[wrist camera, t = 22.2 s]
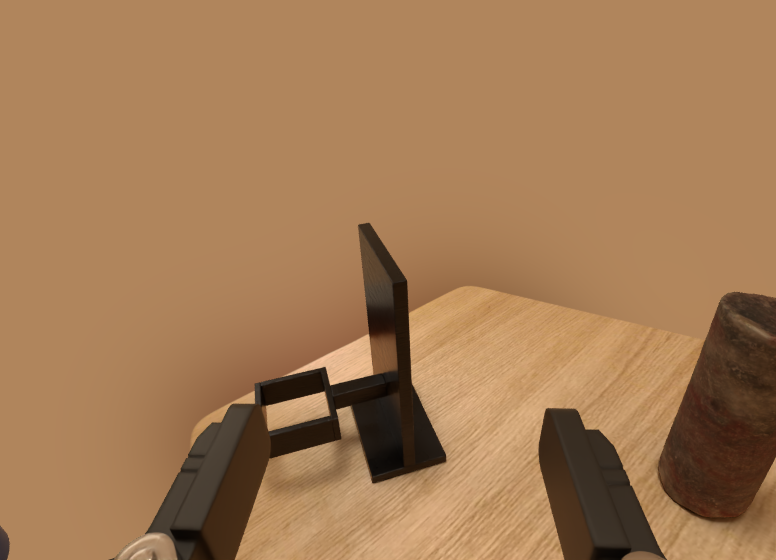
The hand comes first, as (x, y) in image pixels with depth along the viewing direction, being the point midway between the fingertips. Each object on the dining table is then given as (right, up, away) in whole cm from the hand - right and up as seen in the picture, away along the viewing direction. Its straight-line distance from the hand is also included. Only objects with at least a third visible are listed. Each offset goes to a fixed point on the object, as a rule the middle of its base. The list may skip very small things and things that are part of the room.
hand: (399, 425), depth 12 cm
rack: (-4, -14, +36) cm, 39 cm away
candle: (+30, -16, +30) cm, 45 cm away
